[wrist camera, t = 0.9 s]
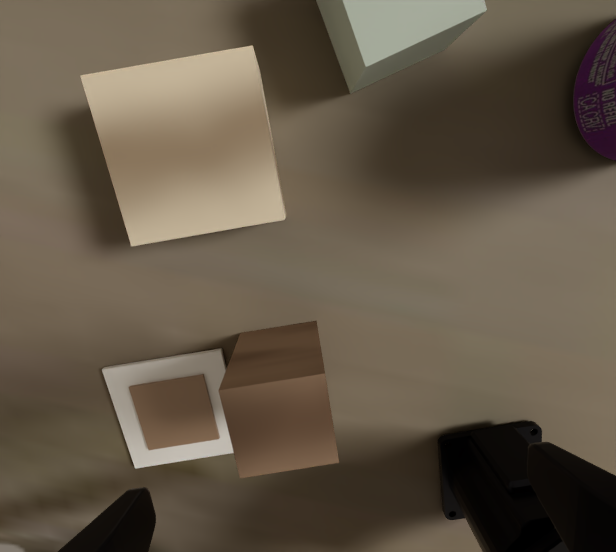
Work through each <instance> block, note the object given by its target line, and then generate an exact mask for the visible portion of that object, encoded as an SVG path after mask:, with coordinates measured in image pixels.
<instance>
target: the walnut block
mask: <svg viewBox="0 0 616 552" xmlns="http://www.w3.org/2000/svg"><path fill="white" fill-rule="evenodd" d="M218 391H219V395H220V399H221V403H222V407H223V411H224V415H225V419H226V423H227V427H228V431H229V435H230V439H231V444H232V448H233V452H234V456H235V460H236V464H237V468H238V472H239V476H240V478H246V477H252V476H258V475H264V474H271V473H277V472H283V471H290V470H296V469H302V468H309V467H315V466H321V465H328V464H334V463H339V458H338V452H337V446H336V440H335V433H334V427H333V421H332V414H331V408H330V402H329V396H328V389H327V383H326V377H325V371H324V364H323V358H322V352H321V346H320V340H319V334H318V328H317V322H316V321H312V322H306V323H299V324H293V325H287V326H281V327H274V328H268V329H262V330H256V331H249V332H243V333H240V335H239V338H238V340H237V343H236V346H235V348H234V351H233V354H232V356H231V359H230V361H229V364H228V367H227V369H226V372H225V374H224V377H223V380H222V382H221V385H220V388H219V390H218Z"/></svg>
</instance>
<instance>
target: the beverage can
mask: <svg viewBox="0 0 616 552" xmlns="http://www.w3.org/2000/svg"><path fill="white" fill-rule="evenodd" d="M573 106H574V114H575V119H576V123H577V126H578V128H579V130H580V133H581V134H582V136H583V138H584V139H585V141H586V142H587V143H588V144H589V146H590V147H591V148H592V149H594V150H595V151H596V152H597V153H599V154H601V155H602V156H604V157H606V158H609V159H611V160H615V161H616V19H615V20H614V21H613V22H611V23H610V24H609V25H608V26H607V27H606V28H605V29H604V30H603V31H602V32H601V33H600V34H599V35H598V37H597V38H596V39H595V40H594V42H593V43H592V45H591V46H590V48H589V49H588V51H587V53H586V55H585V56H584V59H583V61H582V63H581V65H580V68H579V71H578V74H577V77H576V81H575V87H574V96H573Z"/></svg>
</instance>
